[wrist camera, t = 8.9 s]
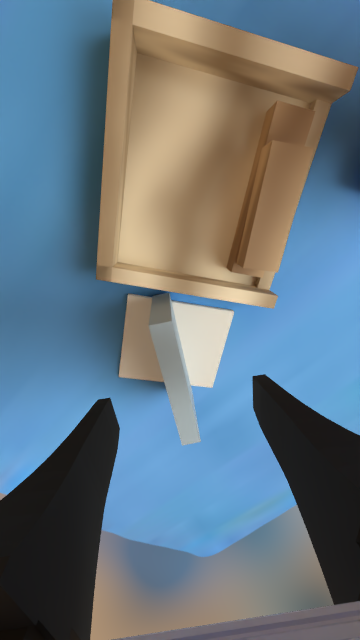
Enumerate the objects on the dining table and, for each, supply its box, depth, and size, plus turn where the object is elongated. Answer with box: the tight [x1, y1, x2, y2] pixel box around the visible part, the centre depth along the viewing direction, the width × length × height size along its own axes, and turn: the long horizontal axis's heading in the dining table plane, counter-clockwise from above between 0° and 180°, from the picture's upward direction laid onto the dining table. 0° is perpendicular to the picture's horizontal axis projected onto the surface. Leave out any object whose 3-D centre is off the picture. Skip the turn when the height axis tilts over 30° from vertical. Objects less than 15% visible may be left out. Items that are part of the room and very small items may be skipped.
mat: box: [119, 294, 234, 388], centre depth 22 cm, size 9×8×1 cm
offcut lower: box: [226, 100, 315, 278], centre depth 17 cm, size 2×10×2 cm, turn 169°
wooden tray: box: [96, 0, 358, 309], centre depth 16 cm, size 13×14×3 cm
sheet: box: [149, 292, 201, 445], centre depth 19 cm, size 1×10×6 cm, turn 11°
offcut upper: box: [236, 140, 313, 272], centre depth 15 cm, size 2×7×2 cm, turn 173°
